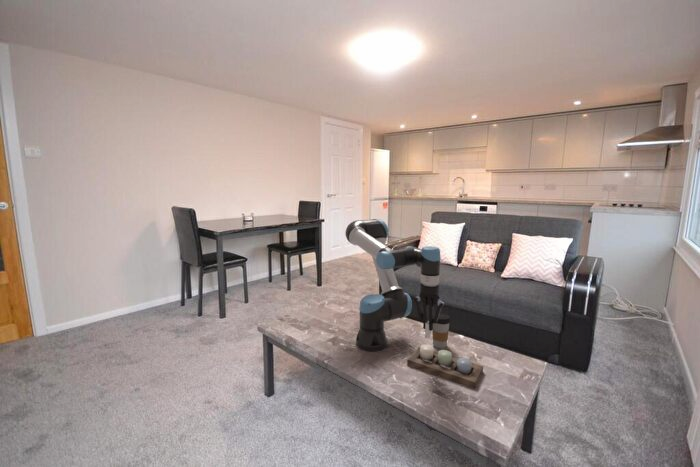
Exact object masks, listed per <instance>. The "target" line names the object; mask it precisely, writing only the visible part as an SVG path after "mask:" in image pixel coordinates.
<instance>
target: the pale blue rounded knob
mask: <svg viewBox="0 0 700 467" xmlns="http://www.w3.org/2000/svg"><path fill="white" fill-rule="evenodd" d="M472 363H473V362H472V360H471V359H468V358H466V357H459V358H458V360H457V370H456V371H457V372H460V373H463V374H466V375H471V365H472Z"/></svg>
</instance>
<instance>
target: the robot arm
mask: <svg viewBox="0 0 700 467" xmlns="http://www.w3.org/2000/svg"><path fill="white" fill-rule="evenodd" d="M344 234H345V238H346V239H347V241H348V242H349V243H350V244H351V245H352V246H358V247H359V248H361V249H362V250H363V251H364V252H366V253H367V254H368V255H370V256H371V258H372V261H373V264H374V267H375V271H376V275H377V277H378V281H379V284H380V287H381V290H382V291H381V293H380V294H377V293H372V294H367V295H365V296H363V297H362V298H361V299H360V302H359V307H358V308H359V329H358V331H357V334H356V338H355V345H356V346H357V348H359V349H361V350H363V351H367V352H377V351H381V350H384V349H386V347H387V346H388V337H387V335H386V332H385V329H384V328H385V322H389V321H394V320H398V319H402V318H406V317H407V316H410V315H411V312H412V310H413V309H412V308H413V303H412V302H413V300H414V302H415V305H416V310H417V315H418V319H419V320H420V321H422V322H423V324H422V325H423V330H424V338H426V339H429V338H430V337H431V335H432V330H433V323H436V322H437V321H438V319H439V315H440V313H442V308H443V306H444V305H445V303H446V302H445V301H442V300H441V299H440V296H439V293H440V292H439V291H440V285H439V284H440V272H441V270H440V267H441V250H440V248H439V247H438V246H433V245H432V246H429V245H428V246H423V247H422V248H418V247H416V246H406V247H404V248H401V249H393V248H390V247H389V246H387V245H386V243H387V241H388V240H387V238H388V236H389V228H388V225H387V224H386V222H385V221H384V220H382V219H378V218H377V219H376V218H373V219H372V218H371V219H362V220H361V219H360V220H359V219H358V220H353V221H352V222H350V223H349V224H348V225H347V227H346V228H345V232H344ZM411 266H416V267H419V268H420V292H419V295H417V296H415V297H414V298H413V300H412V298H411V296H410V295H409V293H407V292H404V289H403V288H402V287H400V286H399V284H398V280H397V276H396V274H395V271H394V269H398V268H403V267H404V268H405V267H411ZM436 304H437V308H436V311H435V305H436ZM435 313H436V314H435ZM434 314H435V317H434Z"/></svg>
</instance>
